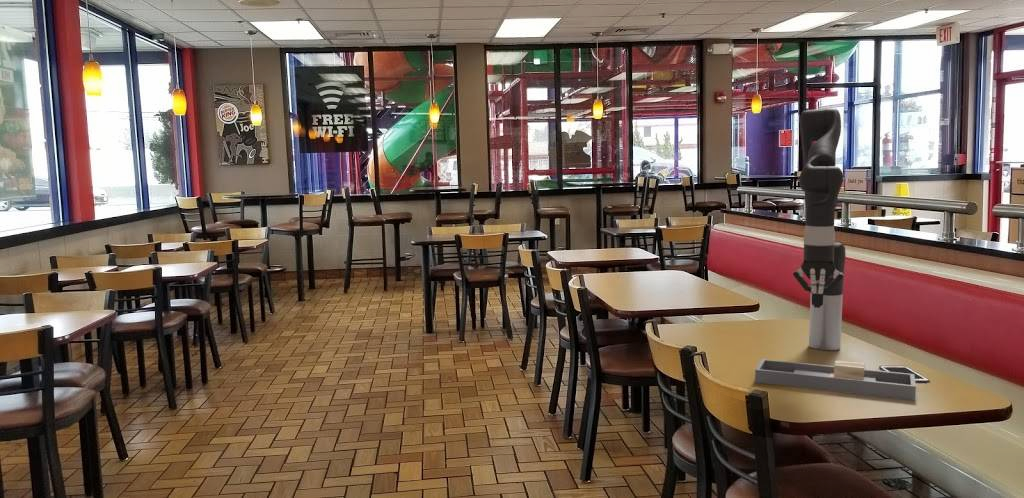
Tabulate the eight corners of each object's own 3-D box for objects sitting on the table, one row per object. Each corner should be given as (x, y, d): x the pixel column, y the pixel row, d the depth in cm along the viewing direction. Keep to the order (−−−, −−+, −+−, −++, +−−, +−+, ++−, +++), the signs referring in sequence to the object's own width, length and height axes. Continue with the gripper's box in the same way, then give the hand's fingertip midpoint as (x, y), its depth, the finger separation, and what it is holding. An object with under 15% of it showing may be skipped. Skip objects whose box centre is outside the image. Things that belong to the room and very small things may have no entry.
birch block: (835, 375, 206) (835, 360, 206) (864, 378, 203) (864, 363, 203) (833, 380, 202) (834, 365, 201) (863, 383, 199) (864, 368, 198)
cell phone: (901, 384, 206) (901, 380, 206) (877, 368, 221) (877, 365, 221) (930, 384, 206) (931, 380, 206) (905, 369, 220) (905, 365, 220)
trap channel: (761, 371, 218) (761, 359, 218) (913, 387, 202) (914, 374, 201) (754, 382, 207) (755, 369, 207) (915, 400, 191) (915, 386, 191)
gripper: (847, 241, 205) (844, 306, 207) (794, 239, 211) (792, 302, 213) (845, 245, 198) (843, 311, 201) (791, 243, 204) (789, 308, 206)
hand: (817, 307), depth 207 cm, fingers closed
